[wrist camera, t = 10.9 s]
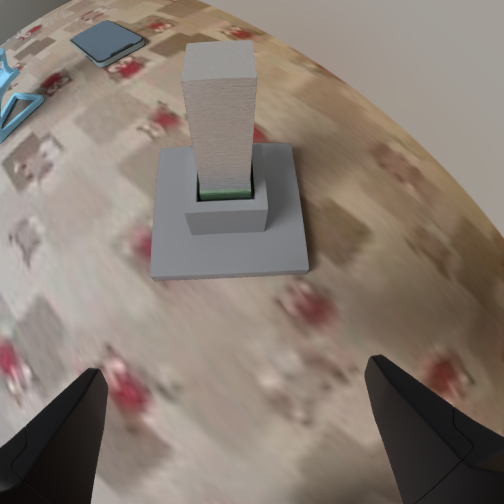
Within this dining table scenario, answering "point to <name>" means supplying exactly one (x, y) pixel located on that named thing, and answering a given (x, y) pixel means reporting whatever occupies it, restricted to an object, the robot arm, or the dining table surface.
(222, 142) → the column
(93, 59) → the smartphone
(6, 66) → the light blue holder stand
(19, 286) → the dining table surface
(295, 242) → the base
